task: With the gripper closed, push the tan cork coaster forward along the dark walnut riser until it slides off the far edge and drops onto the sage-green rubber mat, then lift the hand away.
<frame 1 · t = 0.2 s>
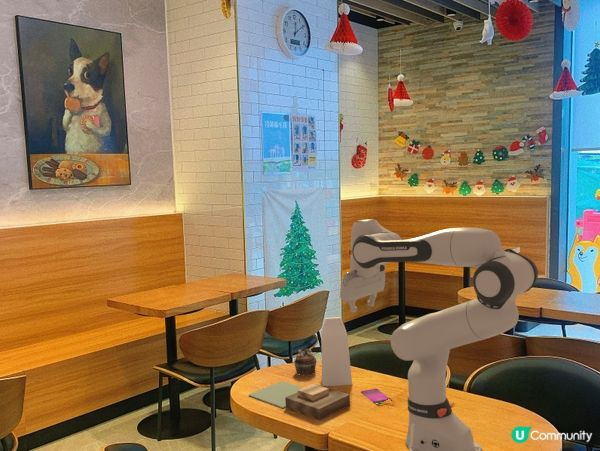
hand: (362, 309, 185), 39 cm above the table, tool pointing down, fingers open, 8 cm apart
coaster: (313, 394, 205), point 4 cm above the table, touching riser
cupcake: (306, 372, 241), on the table
mat: (282, 394, 218), on the table
riser: (317, 406, 204), on the table
smartphone: (377, 398, 210), on the table
milk: (336, 380, 230), on the table
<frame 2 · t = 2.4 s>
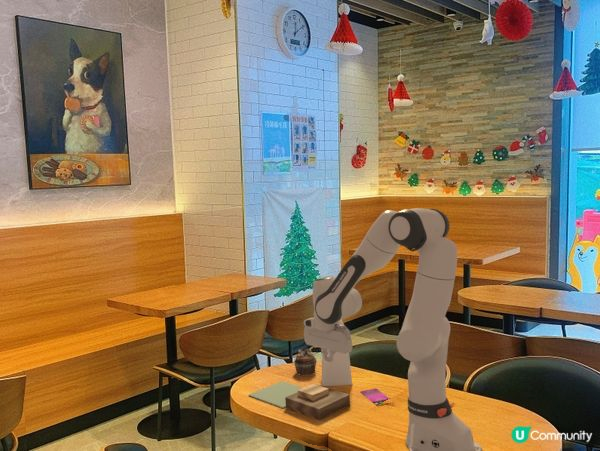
hand: (328, 360, 198), 18 cm above the table, tool pointing down, fingers closed
nothing on the table moved.
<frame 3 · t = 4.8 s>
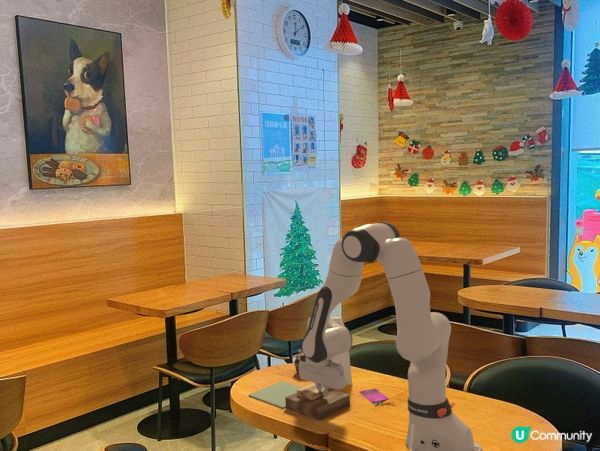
hand: (323, 395, 202), 5 cm above the table, tool pointing down, fingers closed
coaster: (312, 394, 206), point 4 cm above the table, touching gripper
everything else where it was.
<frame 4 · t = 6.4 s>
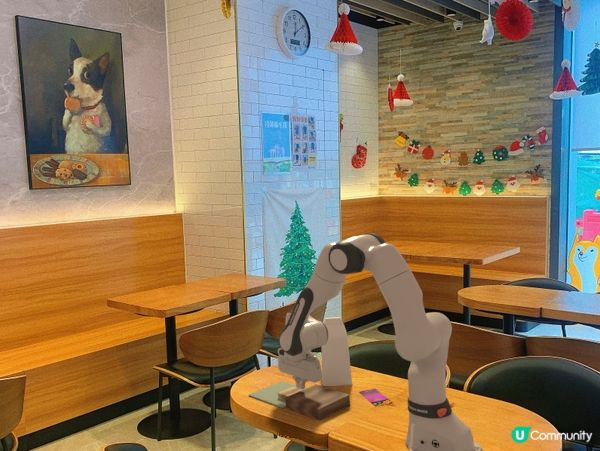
hand: (300, 388, 210), 5 cm above the table, tool pointing down, fingers closed
coaster: (293, 397, 213), point 1 cm above the table, touching mat
everything else where it was.
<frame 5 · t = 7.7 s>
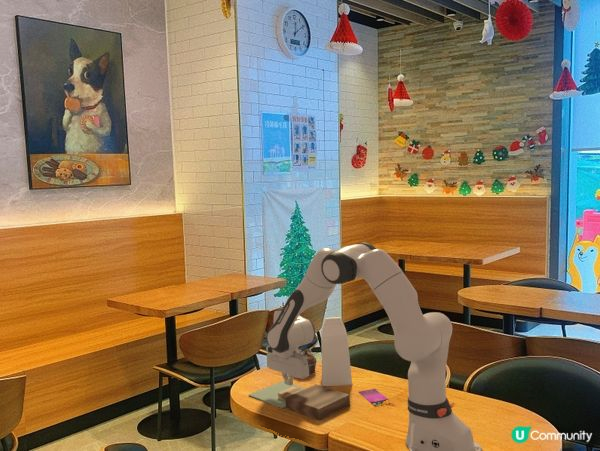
hand: (288, 384, 215), 5 cm above the table, tool pointing down, fingers closed
nothing on the table moved.
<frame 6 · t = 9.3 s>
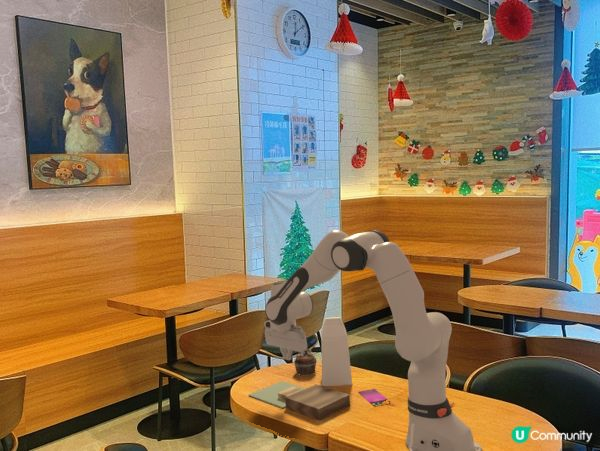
hand: (287, 359, 214), 15 cm above the table, tool pointing down, fingers closed
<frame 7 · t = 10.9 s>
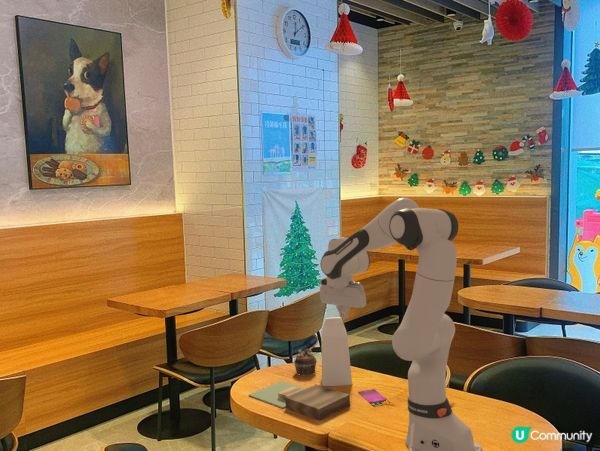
hand: (343, 317, 210), 30 cm above the table, tool pointing down, fingers closed
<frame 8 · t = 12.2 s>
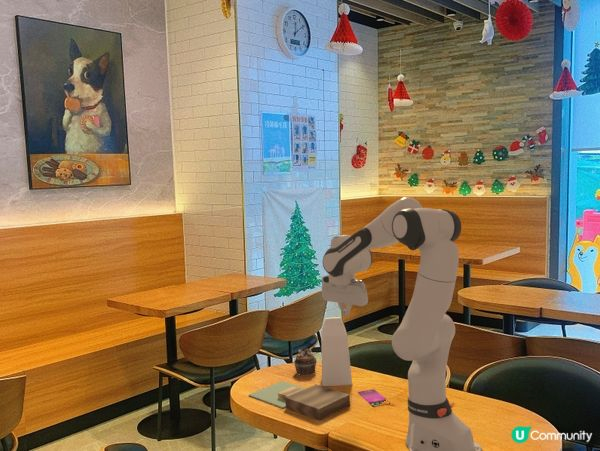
hand: (345, 314, 210), 31 cm above the table, tool pointing down, fingers closed
at the end: coaster inside the target area (6.6 cm from its centre), point 0.5 cm above the table; coaster touching mat; coaster tilted 0° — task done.
